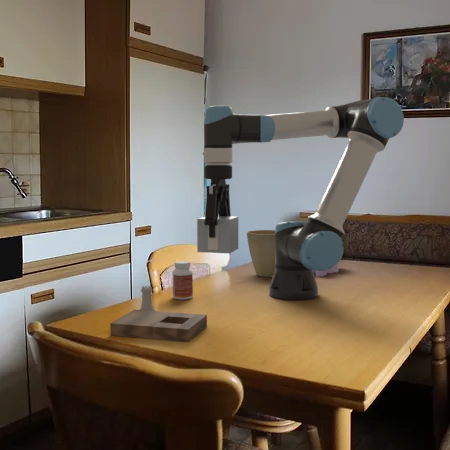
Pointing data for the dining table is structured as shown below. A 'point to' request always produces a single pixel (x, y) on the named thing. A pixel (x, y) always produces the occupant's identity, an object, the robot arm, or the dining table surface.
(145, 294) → the rook chess piece
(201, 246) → the block
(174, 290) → the pill bottle
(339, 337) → the dining table surface
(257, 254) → the plant pot
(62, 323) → the dining table surface
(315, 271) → the clip
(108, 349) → the dining table surface
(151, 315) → the socket board
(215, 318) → the dining table surface
